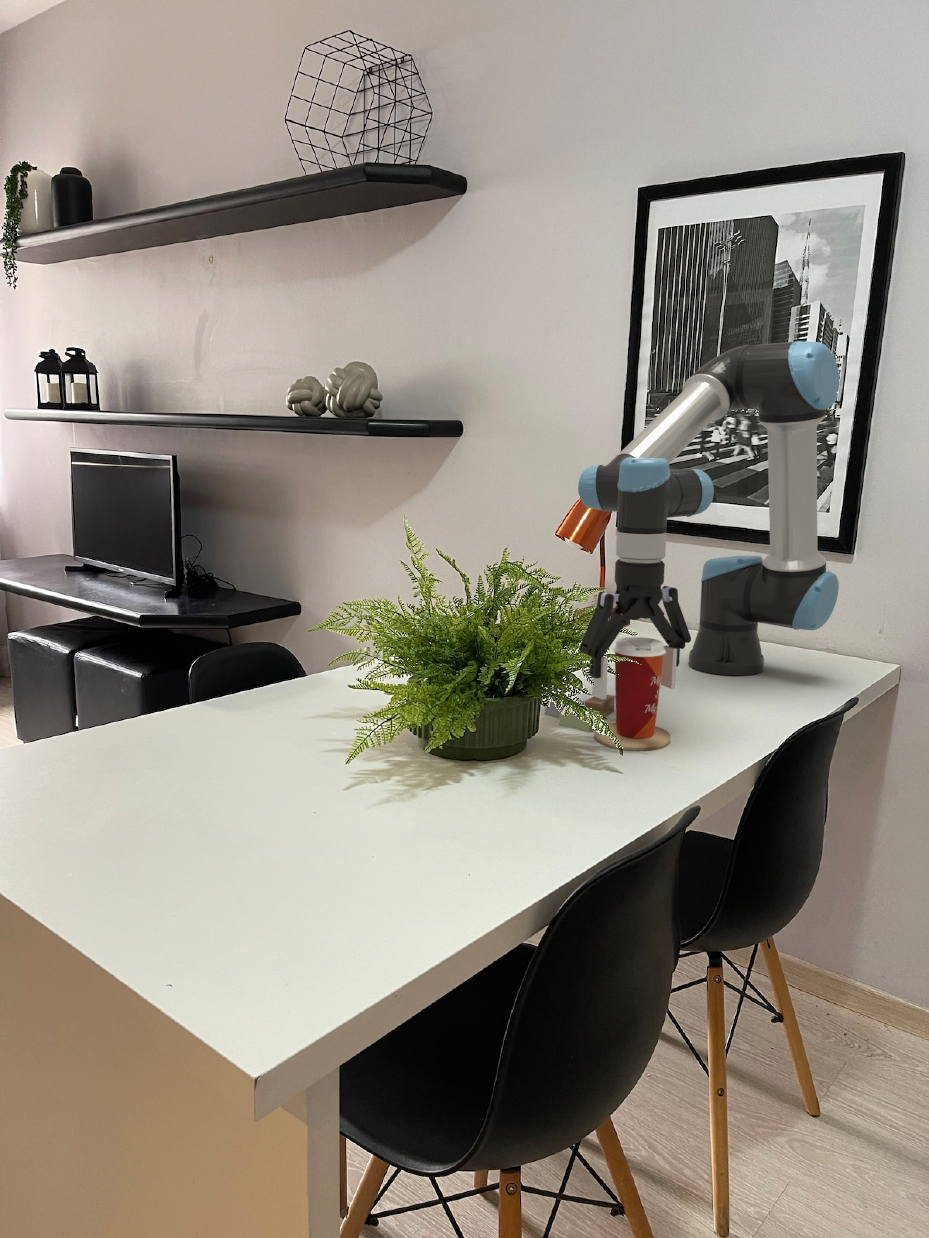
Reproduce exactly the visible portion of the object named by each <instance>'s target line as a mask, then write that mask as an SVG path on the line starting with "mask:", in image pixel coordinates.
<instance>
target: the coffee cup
mask: <svg viewBox="0 0 929 1238" xmlns="http://www.w3.org/2000/svg"><path fill="white" fill-rule="evenodd" d="M664 646H665V645H664V643H663V641H661V640H659V639H656V638H655V639H654V638H652V637H651V638H650V637H649V638H648V637H641V636H639V637H636V636H631V637H630V636H629V637H623V638H618V639H617V640H616V642H615V645H614V647H613V648H612V650H613V652H614V657H615V656H619V657H626V658H629V659H631V660H633V661H637V662H638V663H640V664H642V665H640V664H637V663H635V662H631V661H620V662H615V661H614V667H615V668H614V670H615V671H614V672H615V673H616V674H619V675H615V674H614V676H615V722H616V730H617V733H618V734H619V735H621V736H623V737H627V738H634V739H644V738H649V737H652V736H653V735H654V730H655V726H656V722H657V714H658V705H659V696H660V689H661V672H662V663H663V655H664V654H665V653H666V651H665V649H664Z"/></svg>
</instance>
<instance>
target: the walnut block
mask: <svg viewBox="0 0 929 1238" xmlns="http://www.w3.org/2000/svg"><path fill="white" fill-rule="evenodd" d="M585 706H586V707H588V708H592V710H594V711H599V712H600V714H601V715H603V717H605V718H606V717H608V716H609V715H611V714H612V713H614V712H615V707H616V695H612V694H606V699H604V700H602V699H600V698H597V697H595V696H592V697H591V698H588V699H586V700H585V701H584V707H585Z"/></svg>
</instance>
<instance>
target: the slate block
mask: <svg viewBox="0 0 929 1238" xmlns="http://www.w3.org/2000/svg"><path fill="white" fill-rule="evenodd" d="M577 700H578V702H581V703H582V705H584V706H585V701H583V700H579V699H577ZM544 715H548V716H550V717H555V718H559V719H560V712H559V711H558V710H557V709H556V707H555V704H554V702H550V708H546V707H545V706H544Z"/></svg>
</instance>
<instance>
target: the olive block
mask: <svg viewBox="0 0 929 1238" xmlns="http://www.w3.org/2000/svg"><path fill="white" fill-rule="evenodd" d="M593 711H594V710H593ZM594 712H598V713H599V714H600V712H599V711H594ZM558 725H560V726H562V727H563V726H564V727H566V728H570V729H576V730H578V731H582V732H587V733H591V732H593V731H594V732H595V730H594V729H592V726H590V725H589V723H587V722H583V721H582V720H580V719H578V718H577V717H576V716H575V715H574V714H573V713H572V712H571V713H570V714H569V715H568V716H564V715H562V714H561V712H560V718H559V724H558Z"/></svg>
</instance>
